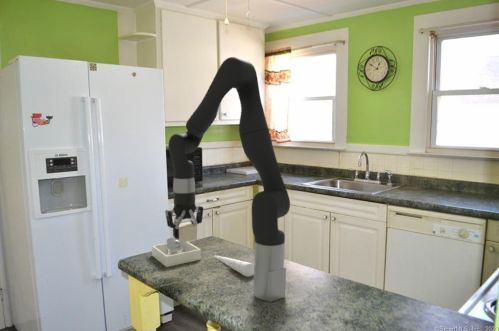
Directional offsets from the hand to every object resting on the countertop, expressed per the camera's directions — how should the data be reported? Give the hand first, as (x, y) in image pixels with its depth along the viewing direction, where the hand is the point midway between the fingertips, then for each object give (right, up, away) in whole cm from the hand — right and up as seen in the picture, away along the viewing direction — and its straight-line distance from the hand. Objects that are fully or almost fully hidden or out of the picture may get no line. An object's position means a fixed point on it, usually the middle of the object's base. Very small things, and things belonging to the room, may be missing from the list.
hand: (185, 236), depth 138 cm
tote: (-6, -11, +13) cm, 18 cm away
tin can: (-6, -10, +13) cm, 17 cm away
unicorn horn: (+16, -13, +5) cm, 21 cm away
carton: (0, -1, 0) cm, 1 cm away
